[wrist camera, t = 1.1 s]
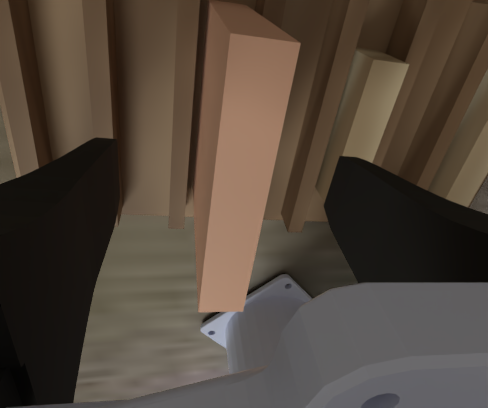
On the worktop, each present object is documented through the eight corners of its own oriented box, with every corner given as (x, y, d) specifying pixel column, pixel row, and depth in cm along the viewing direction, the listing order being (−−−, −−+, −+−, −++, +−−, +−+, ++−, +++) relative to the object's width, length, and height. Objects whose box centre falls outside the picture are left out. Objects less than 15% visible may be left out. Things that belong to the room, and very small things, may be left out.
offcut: (378, 50, 17) (409, 64, 15) (336, 179, 21) (355, 206, 18) (347, 45, 17) (373, 59, 14) (309, 178, 20) (326, 205, 18)
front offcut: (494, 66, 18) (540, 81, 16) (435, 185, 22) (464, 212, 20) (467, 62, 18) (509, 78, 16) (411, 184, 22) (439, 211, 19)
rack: (553, 4, 18) (604, 10, 15) (437, 219, 25) (461, 243, 22) (-37, -107, 13) (-81, -121, 10) (29, 202, 20) (10, 231, 17)
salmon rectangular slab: (246, 5, 15) (300, 42, 8) (221, 188, 20) (242, 311, 13) (207, -1, 15) (230, 33, 8) (192, 187, 20) (198, 312, 13)
